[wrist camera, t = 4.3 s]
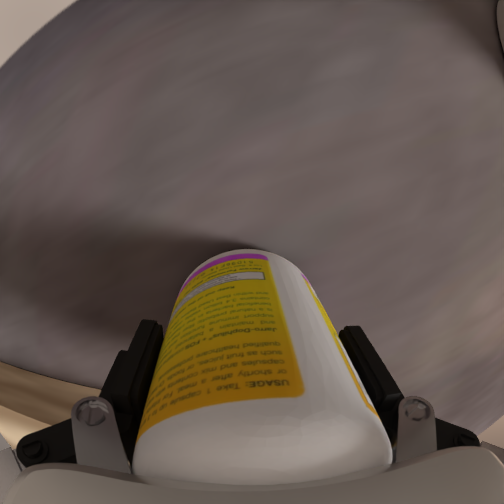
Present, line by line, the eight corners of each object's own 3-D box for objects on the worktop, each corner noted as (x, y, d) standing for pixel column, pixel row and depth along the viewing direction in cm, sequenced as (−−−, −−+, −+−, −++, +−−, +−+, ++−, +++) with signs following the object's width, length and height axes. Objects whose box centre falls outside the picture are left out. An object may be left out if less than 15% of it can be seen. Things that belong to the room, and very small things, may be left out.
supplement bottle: (157, 327, 14) (86, 580, 2) (221, 216, 13) (177, 619, 1) (265, 377, 16) (298, 599, 4) (339, 287, 14) (485, 531, 2)
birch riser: (-2, 360, 15) (-27, 391, 11) (159, 399, 16) (148, 448, 12) (54, 457, 20) (44, 484, 16) (180, 486, 21) (177, 519, 17)
